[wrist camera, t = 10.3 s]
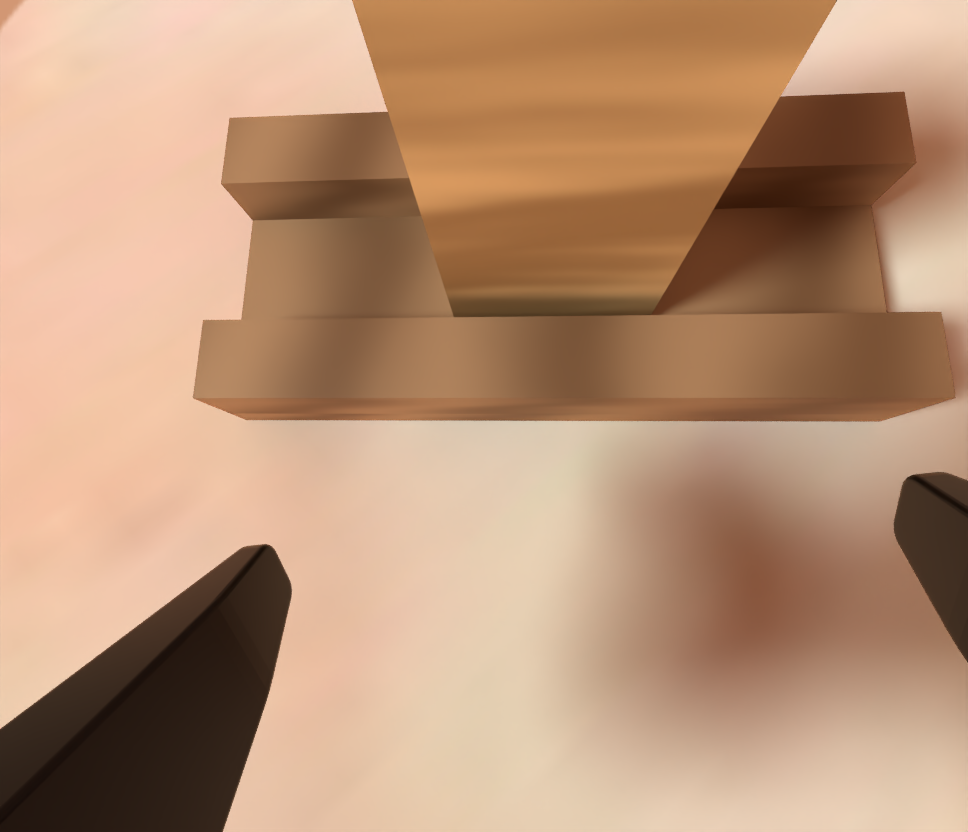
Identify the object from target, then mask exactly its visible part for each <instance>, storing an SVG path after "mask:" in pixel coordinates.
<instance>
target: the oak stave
mask: <svg viewBox="0 0 968 832" xmlns="http://www.w3.org/2000/svg"><path fill="white" fill-rule="evenodd" d="M352 1H353V4H354V8H355V11H356V14H357V17H358V20H359V23H360V26H361V29H362V32H363V36H364V39H365V42H366V45H367V48H368V51H369V54H370V57H371V60H372V64H373V67H374V70H375V73H376V76H377V79H378V82H379V85H380V89H381V92H382V95H383V98H384V101H385V104H386V107H387V110H388V113H389V117H390V120H391V123H392V126H393V129H394V132H395V135H396V138H397V141H398V145H399V148H400V151H401V154H402V157H403V160H404V163H405V166H406V170H407V173H408V176H409V179H410V182H411V185H412V188H413V191H414V194H415V198H416V201H417V204H418V207H419V210H420V213H421V216H422V219H423V223H424V226H425V229H426V232H427V235H428V238H429V241H430V244H431V247H432V251H433V254H434V257H435V260H436V263H437V266H438V269H439V272H440V275H441V279H442V282H443V285H444V288H445V291H446V294H447V297H448V300H449V304H450V307H451V310H452V313H453V316H454V317H533V316H622V315H651V314H652V313H653V311H654V309H655V308H656V306H657V304H658V302H659V301H660V299H661V297H662V296H663V294H664V292H665V291H666V289H667V287H668V286H669V284H670V282H671V280H672V279H673V277H674V275H675V274H676V272H677V270H678V269H679V267H680V265H681V264H682V262H683V260H684V258H685V257H686V255H687V253H688V252H689V250H690V248H691V247H692V245H693V243H694V242H695V240H696V238H697V236H698V235H699V233H700V231H701V230H702V228H703V226H704V225H705V223H706V221H707V220H708V218H709V216H710V214H711V213H712V211H713V209H714V208H715V206H716V204H717V203H718V201H719V199H720V198H721V196H722V194H723V192H724V191H725V189H726V187H727V186H728V184H729V182H730V181H731V179H732V177H733V176H734V174H735V172H736V170H737V169H738V167H739V165H740V164H741V162H742V160H743V159H744V157H745V155H746V154H747V152H748V150H749V148H750V147H751V145H752V143H753V142H754V140H755V138H756V137H757V135H758V133H759V132H760V130H761V128H762V127H763V125H764V123H765V121H766V120H767V118H768V116H769V115H770V113H771V111H772V110H773V108H774V106H775V105H776V103H777V101H778V99H779V98H780V96H781V94H782V93H783V91H784V89H785V88H786V86H787V84H788V83H789V81H790V79H791V77H792V76H793V74H794V72H795V71H796V69H797V67H798V66H799V64H800V62H801V61H802V59H803V57H804V55H805V54H806V52H807V50H808V49H809V47H810V45H811V44H812V42H813V40H814V39H815V37H816V35H817V33H818V32H819V30H820V28H821V27H822V25H823V23H824V22H825V20H826V18H827V17H828V15H829V13H830V11H831V10H832V8H833V6H834V5H835V3H836V1H837V0H352Z"/></svg>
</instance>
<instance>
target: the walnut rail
mask: <svg viewBox="0 0 968 832" xmlns="http://www.w3.org/2000/svg"><path fill="white" fill-rule="evenodd" d="M914 164H916V159H915V153H914V147H913V141H912V135H911V129H910V123H909V117H908V111H907V105H906V99H905V93H904V92H888V93H862V94H836V95H811V96H785V97H780V98H779V99H778V101H777V103H776V105H775V106H774V108H773V110H772V111H771V113H770V115H769V116H768V118H767V120H766V121H765V123H764V125H763V127H762V128H761V130H760V132H759V133H758V135H757V137H756V138H755V140H754V142H753V143H752V145H751V147H750V148H749V150H748V152H747V154H746V155H745V157H744V159H743V160H742V162H741V164H740V165H739V167H738V169H737V170H736V172H735V174H734V176H733V177H732V179H731V181H730V182H729V184H728V186H727V187H726V189H725V191H724V192H723V194H722V196H721V198H720V199H719V201H718V203H717V204H716V206H715V208H714V209H713V211H712V213H711V214H710V216H709V218H708V220H707V221H706V223H705V225H704V226H703V228H702V230H701V231H700V233H699V235H698V236H697V238H696V240H695V242H694V243H693V245H692V247H691V248H690V250H689V252H688V253H687V255H686V257H685V258H684V260H683V262H682V264H681V265H680V267H679V269H678V270H677V272H676V274H675V275H674V277H673V279H672V280H671V282H670V284H669V286H668V287H667V289H666V291H665V292H664V294H663V296H662V297H661V299H660V301H659V302H658V304H657V306H656V308H655V309H654V311H653V313H652V314H651V315H622V316H533V317H454V316H453V313H452V310H451V307H450V304H449V300H448V297H447V294H446V291H445V288H444V285H443V282H442V279H441V275H440V272H439V269H438V266H437V263H436V260H435V257H434V254H433V251H432V247H431V244H430V241H429V238H428V235H427V232H426V229H425V226H424V223H423V219H422V216H421V213H420V210H419V207H418V204H417V201H416V198H415V194H414V191H413V188H412V185H411V182H410V179H409V176H408V173H407V170H406V166H405V163H404V160H403V157H402V154H401V151H400V148H399V145H398V141H397V138H396V135H395V132H394V129H393V126H392V123H391V120H390V117H389V113H388V112H372V113H346V114H321V115H295V116H269V117H243V118H230V119H229V127H228V135H227V142H226V150H225V157H224V165H223V173H222V180H221V184H222V185H223V186H224V188H225V189H226V190H227V191H228V192H229V193H230V194H231V196H232V197H233V198H234V199H235V200H236V201H237V203H238V204H239V205H240V206H241V207H242V208H243V209H244V211H245V212H246V213H247V214H248V215H249V216H250V218H251V219H252V220H253V224H252V233H251V242H250V250H249V259H248V268H247V276H246V285H245V294H244V302H243V311H242V320H203V325H202V333H201V341H200V348H199V356H198V363H197V371H196V379H195V386H194V394H193V398H194V399H196V400H199V401H201V402H204V403H206V404H209V405H211V406H213V407H216V408H218V409H221V410H223V411H226V412H228V413H231V414H233V415H236V416H238V417H241V418H243V419H245V420H512V421H882V420H885V419H889V418H892V417H895V416H898V415H902V414H905V413H908V412H911V411H914V410H918V409H921V408H924V407H927V406H931V405H934V404H937V403H940V402H943V401H947V400H950V399H953V398H956V397H955V391H954V385H953V379H952V373H951V367H950V361H949V355H948V349H947V343H946V337H945V331H944V325H943V319H942V314H941V312H888V313H887V310H886V304H885V297H884V290H883V283H882V276H881V269H880V262H879V256H878V249H877V242H876V235H875V228H874V221H873V214H872V207H871V205H872V204H873V203H874V202H875V201H876V200H877V199H878V198H879V197H880V196H881V195H882V194H884V193H885V192H886V191H887V190H888V189H889V188H890V187H891V186H892V185H893V184H894V183H895V182H896V181H897V180H898V179H900V178H901V177H902V176H903V175H904V174H905V173H906V172H907V171H908V170H909V169H910V168H911V167H912V166H913V165H914Z"/></svg>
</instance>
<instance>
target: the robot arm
mask: <svg viewBox="0 0 968 832" xmlns="http://www.w3.org/2000/svg"><path fill="white" fill-rule="evenodd" d="M894 533H895V536H896V539H897V541H898V544H899V545H900V547H901V549H902V551H903V552H904V554H905V556H906V558H907V560H908V561H909V563H910V565H911V567H912V569H913V570H914V572H915V574H916V576H917V577H918V579H919V581H920V583H921V585H922V586H923V588H924V590H925V592H926V593H927V595H928V597H929V599H930V601H931V602H932V604H933V606H934V608H935V610H936V611H937V613H938V615H939V617H940V618H941V620H942V622H943V624H944V626H945V627H946V629H947V631H948V632H949V634H950V636H951V637H952V639H953V641H954V642H955V644H956V646H957V647H958V649H959V650H960V652H961V653H962V655H963V656H964V658H965V659H966V661H967V662H968V481H967V480H965V479H962V478H959V477H957V476H954V475H951V474H948V473H944V472H935V473H925V474H916V475H911V476H909V477H907V478H906V479H905V481H904V482H903V485H902V488H901V493H900V497H899V501H898V506H897V510H896V515H895V519H894ZM291 595H292V588H291V583H290V580H289V578H288V576H287V574H286V572H285V569H284V567H283V565H282V563H281V561H280V559H279V557H278V555H277V553H276V551H275V549H274V548H273V547H272V546H270V545H267V544H262V545H253V546H246V547H243V548H241V549H239V550H238V551H237V552H235V553H234V554H233V555H231V556H230V557H229V558H227V559H226V560H225V561H223V562H222V563H221V564H219V565H218V566H217V567H215V568H214V569H213V570H211V571H210V572H209V573H207V574H206V575H205V576H203V577H202V578H201V579H199V580H198V581H197V582H195V583H194V584H193V585H191V586H190V587H189V588H187V589H186V590H185V591H183V592H182V593H181V594H179V595H178V596H177V597H175V598H174V599H173V600H171V601H170V602H169V603H167V604H166V605H165V606H163V607H162V608H161V609H159V610H158V611H157V612H155V613H154V614H153V615H151V616H150V617H149V618H147V619H146V620H145V621H143V622H142V623H141V624H139V625H138V626H137V627H135V628H134V629H133V630H131V631H130V632H129V633H127V634H126V635H125V636H123V637H122V638H121V639H119V640H118V641H117V642H115V643H114V644H113V645H111V646H110V647H109V648H107V649H106V650H105V651H103V652H102V653H101V654H99V655H98V656H97V657H95V658H94V659H93V660H91V661H90V662H89V663H87V664H86V665H85V666H83V667H82V668H81V669H79V670H78V671H77V672H75V673H74V674H73V675H71V676H70V677H69V678H68V679H66V680H65V681H64V682H62V683H61V684H60V685H58V686H57V687H56V688H54V689H53V690H52V691H50V692H49V693H48V694H46V695H45V696H44V697H42V698H41V699H40V700H38V701H37V702H36V703H34V704H33V705H32V706H30V707H29V708H28V709H26V710H25V711H24V712H22V713H21V714H20V715H18V716H17V717H16V718H14V719H13V720H12V721H10V722H9V723H8V724H6V725H5V726H4V727H2V728H1V729H0V832H223V829H224V826H225V823H226V821H227V818H228V815H229V812H230V809H231V806H232V803H233V800H234V797H235V794H236V791H237V788H238V785H239V782H240V779H241V776H242V773H243V770H244V767H245V764H246V761H247V758H248V755H249V752H250V749H251V746H252V743H253V740H254V737H255V734H256V731H257V728H258V725H259V722H260V719H261V716H262V713H263V710H264V707H265V704H266V701H267V697H268V694H269V691H270V687H271V683H272V679H273V675H274V671H275V667H276V662H277V658H278V653H279V649H280V645H281V640H282V636H283V632H284V627H285V623H286V618H287V614H288V610H289V605H290V601H291Z"/></svg>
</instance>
